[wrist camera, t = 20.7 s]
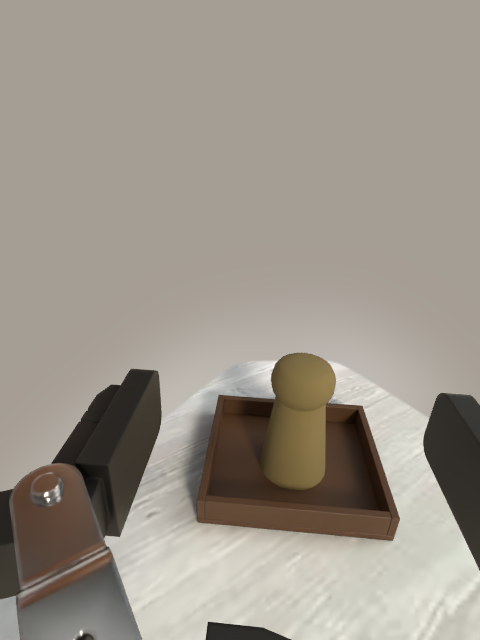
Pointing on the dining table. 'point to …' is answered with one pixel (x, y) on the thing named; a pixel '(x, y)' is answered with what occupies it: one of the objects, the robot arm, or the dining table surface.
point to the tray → (295, 505)
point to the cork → (298, 422)
